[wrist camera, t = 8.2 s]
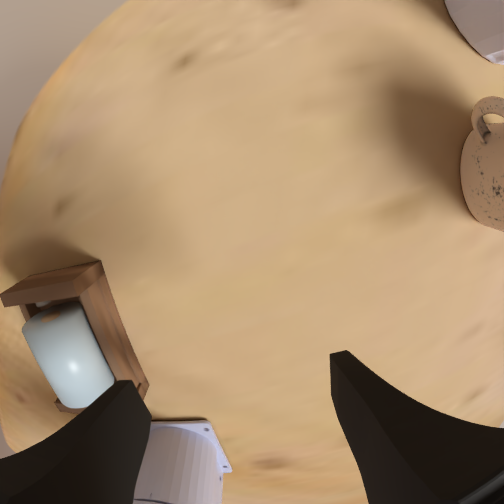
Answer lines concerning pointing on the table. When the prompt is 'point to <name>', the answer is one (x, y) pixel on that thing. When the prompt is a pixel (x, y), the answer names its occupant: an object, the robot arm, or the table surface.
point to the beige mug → (485, 165)
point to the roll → (68, 354)
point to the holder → (95, 308)
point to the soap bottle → (481, 25)
